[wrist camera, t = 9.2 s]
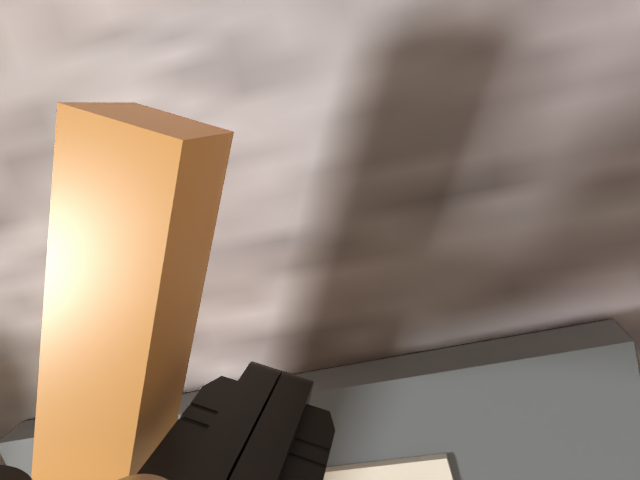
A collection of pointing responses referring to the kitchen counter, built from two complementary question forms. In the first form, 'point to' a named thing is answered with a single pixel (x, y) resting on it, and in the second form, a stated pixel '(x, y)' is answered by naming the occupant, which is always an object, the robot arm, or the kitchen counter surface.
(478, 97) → the kitchen counter surface
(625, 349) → the label board
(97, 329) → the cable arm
